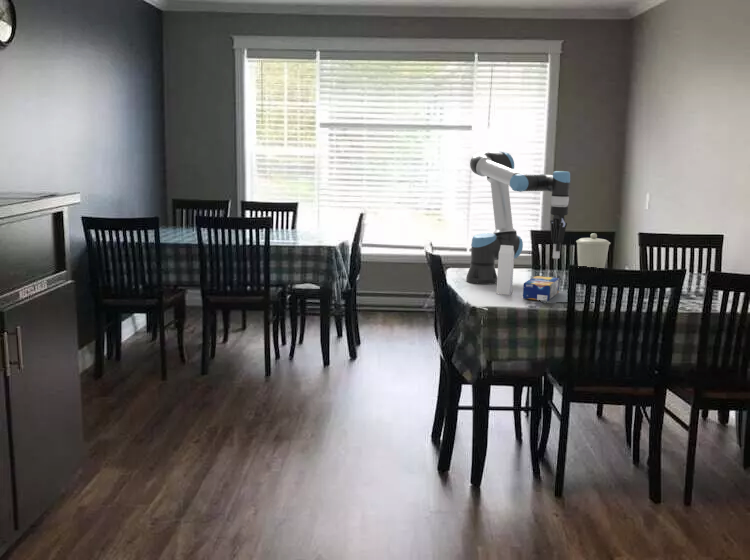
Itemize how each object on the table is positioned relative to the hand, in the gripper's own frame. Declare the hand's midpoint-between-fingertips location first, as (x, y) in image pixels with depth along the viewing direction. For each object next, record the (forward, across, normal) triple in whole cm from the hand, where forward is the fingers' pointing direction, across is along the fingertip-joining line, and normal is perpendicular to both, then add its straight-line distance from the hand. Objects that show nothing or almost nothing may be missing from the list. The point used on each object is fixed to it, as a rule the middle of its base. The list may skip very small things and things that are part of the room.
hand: (556, 258), depth 335 cm
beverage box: (+13, +3, +2) cm, 13 cm away
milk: (+17, +2, +23) cm, 28 cm away
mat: (+17, -8, 0) cm, 19 cm away
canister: (+17, +62, -48) cm, 80 cm away
